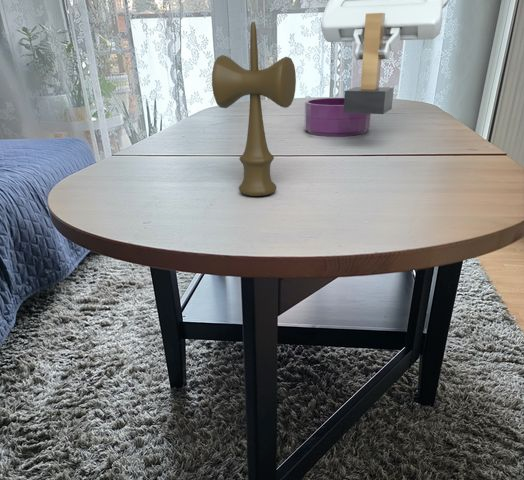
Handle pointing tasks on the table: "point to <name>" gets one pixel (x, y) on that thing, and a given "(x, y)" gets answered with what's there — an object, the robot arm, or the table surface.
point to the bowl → (333, 118)
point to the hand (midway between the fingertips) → (371, 56)
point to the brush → (370, 73)
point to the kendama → (254, 108)
